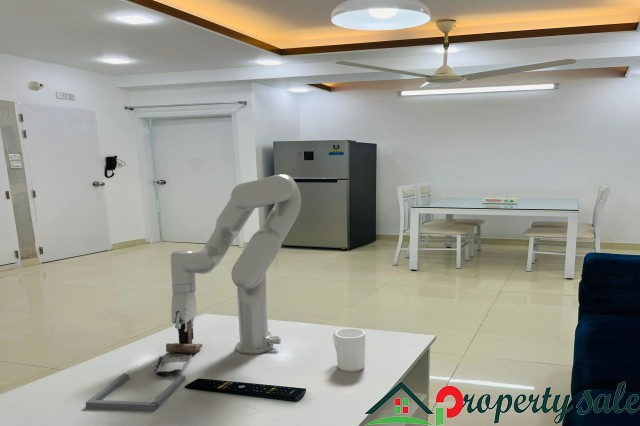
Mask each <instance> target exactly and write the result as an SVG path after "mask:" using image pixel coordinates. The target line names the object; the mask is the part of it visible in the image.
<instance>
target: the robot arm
mask: <svg viewBox="0 0 640 426" xmlns="http://www.w3.org/2000/svg"><path fill="white" fill-rule="evenodd" d="M273 204H274V205H273ZM269 205H273V206H272V208H271V210H270V212H269V213H268V215H267V217H266V219H265V220H264V222H263V223H262V225H261V226H260V228H259V229H258V230H257V231H256V232H254V233H253V234H252V236H251V237H250V239H249V241H248V242H247V244H246V245H245V247H244V249H243V250H242V252H241V254H240V255H239V257H238V258H237V260H236V262H235V263H234V265H233V266H232V267H231V268H232V269H231V273H230V274H231V275H230V276H231V280H232V282H233V285H235V286H236V288H237V289H236V292H237V295H236V297H237V311H238V313H237V315H238V316H237V317H238V330H239V331H238V332H239V333H238V334H239V335H238V336H239V342H238V341H237V343H236V344H235V345H234V346H235V347H234V348H235V351H236V352H238V353H240V354H245V355H256V354H262V353H265V352H268V351H270V350H271V349H273V347H274V345H280V344H281V341H282V339H281V338H280V336H278V335H277V336H273V335H272V333H271V331H269V324H268V308H267V306H268V305H267V304H268V303H267V271H268V269H269V268H270V267H271V265H272V264H273V261H275V258H276V257H277V255H278V253H279V251H280V249H281V248H282V244H283V243H284V241H285V239H286V237H287V236H288V233H290V230H291V229H292V226H293V225H294V223H295V222H296V219H297V218H298V216H299V213H300V210H301V207H302V206H301V205H302V196H301V191H300V189H299V186H298V185H297V183H296V181H295V180H294V179H293V178H292V177H291V176H290V175H288V174H284V173H281V174H274V175H271V176H266V177H264V178H260V179H255V180H252V181H251V180H250V181H247V182H241V183H238V184H237V185H235V186H234V187H233V189H232V191H231V193H230V198H229V200H228V201H227V203H226V205H225V206H224V208H223V209H222V211H221V212H220V214H219V215H218V217H217V219H216V222H215V228H214V230H213V232H212V234H211V236H210V237H209V239H208V241H206V244H205V245H204V246H203V248H202V249H201V250H198V251H196V252H195V251H194V252H193V250H190V249H178V250H174V251H172V252H171V254H170V270H171V271H170V273H171V291H172V292H171V293H172V294H171V295H172V296H171V297H172V298H171V309H170V310H171V313H170V314H171V323H172V324H175V326H174V328H175V329H176V330H177V333H178V343H182V344H188V343H189V337H188V331H187V322H188V321H190V320H191V323H192V340H194V320H195V317H196V316H197V300H196V299H197V298H196V292H197V291H196V290H197V288H196V274H198V275H199V274H200V275H205V274H210V273H211V272H212V271H213V270H214V269H215V268H217V266H219V264H220V263H221V261H222V260H223V259H224V257H225V255H226V254H227V253H228V251H229V250H230V248H231V247H232V245H233V243H234V241H235V240H236V239H237V237H238V236H239V234H240V233H241V231H242V229H243V228H244V227H245V225H246V223H247V222H248V220H249V218H250V217H251V216H252V214H253V212H254V211H255V210H256V209H259V208H262V207H266V206H269ZM181 321H183V322H181ZM182 325H184V326H182Z"/></svg>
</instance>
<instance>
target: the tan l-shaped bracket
mask: <svg viewBox="0 0 640 426" xmlns="http://www.w3.org/2000/svg"><path fill="white" fill-rule="evenodd" d="M181 322H183V321H181ZM182 326H184V325H182ZM192 328H193V327H192V323H191V320H190V321H188V322H187V331H188V337H189V343H188V344H182V343H179V342H174V343H171V342H169V343H166V344H165V351H166V353H168V352H169V353H184V354H185V353H188V354H189V353H190V354H192V353H193V354H196V353H197V352H198V351H199V350H200V349H202V347H203V343H193V339H192Z"/></svg>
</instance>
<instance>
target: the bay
mask: <svg viewBox="0 0 640 426" xmlns="http://www.w3.org/2000/svg"><path fill="white" fill-rule="evenodd" d="M129 379H130V374H129V373H128V372H127V373H126V372H125V373H122V374H121V375H120V376H119V377H117V378H116V379H115V380H113V381H112V382H110V383H109V384H108V385H106V386H105V387H104V388H102V389H101V390H100V391H99V392H97V393H96V394H95V395H93V396H92V397H91V398H89V399H87V400H86V401H85V408H86V409H100V410H103V409H104V410H119V411H120V410H124V411H125V410H126V411H145V412H147V411H148V412H156V410H158V409H159V408H160V407H161V406H162V405H163V404H164V403H165V401H166V400H167V399H169V398H170V397H171V396H172V395H173V393H175V392H176V391H177V390H178V389H179V388H180V386H182V385H183V384H184V383H185V382H186V379H187V377H186V375H185V374H182V375H180V376H179V377H176V379H174V380H173V382H172V383H170V384H169V385H168V386H167V387H166V388H165V389H164V390H163V391H162V392H161V393H160V394H159V395H158V396H156V398H155V399H154V400H152V401H130V400H129V401H128V400H110V399H109V400H108V399H107V400H106V399H105V398H106V397H108V396H109V395H110V394H112V393H113V392H114V391H115V390H117V389H118V388H119V387H121V386H122V385H123V384H125V382H126V381H128V380H129Z"/></svg>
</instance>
